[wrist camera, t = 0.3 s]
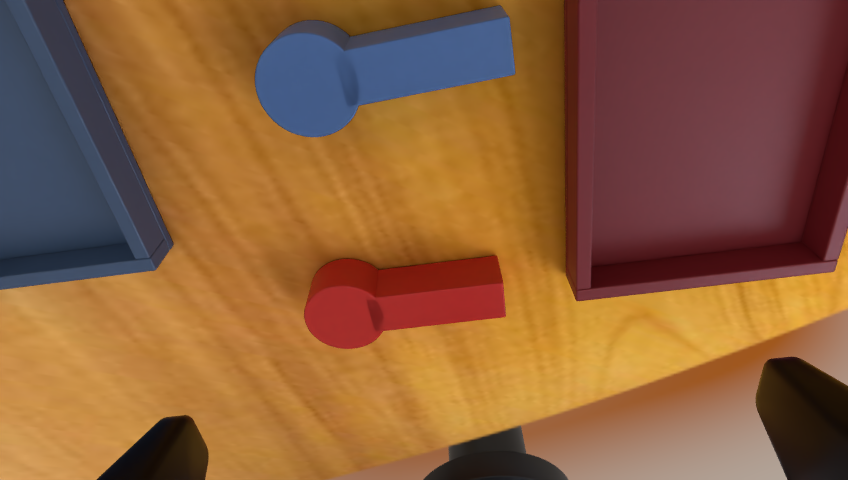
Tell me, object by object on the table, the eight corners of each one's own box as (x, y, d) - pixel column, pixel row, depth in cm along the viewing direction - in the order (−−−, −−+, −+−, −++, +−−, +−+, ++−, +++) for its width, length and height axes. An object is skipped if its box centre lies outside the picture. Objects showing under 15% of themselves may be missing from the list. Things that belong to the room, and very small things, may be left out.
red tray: (806, 246, 24) (835, 272, 22) (565, 274, 24) (576, 302, 23) (904, -119, 17) (957, -120, 15) (563, -65, 17) (578, -60, 16)
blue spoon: (498, -22, 18) (506, -13, 16) (509, 81, 20) (518, 99, 18) (254, 31, 19) (238, 44, 17) (286, 125, 21) (275, 146, 19)
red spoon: (495, 239, 23) (502, 266, 22) (501, 302, 25) (507, 331, 23) (303, 263, 24) (294, 291, 22) (321, 323, 26) (314, 353, 24)
